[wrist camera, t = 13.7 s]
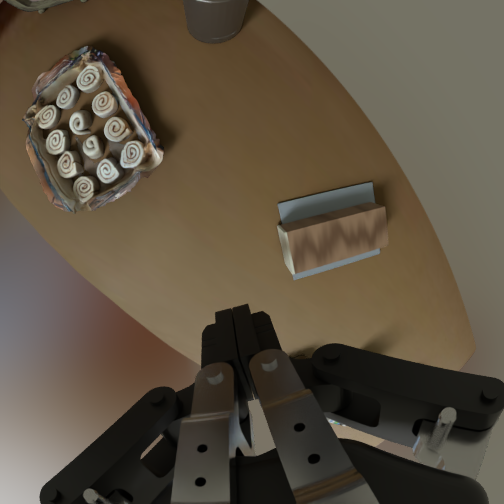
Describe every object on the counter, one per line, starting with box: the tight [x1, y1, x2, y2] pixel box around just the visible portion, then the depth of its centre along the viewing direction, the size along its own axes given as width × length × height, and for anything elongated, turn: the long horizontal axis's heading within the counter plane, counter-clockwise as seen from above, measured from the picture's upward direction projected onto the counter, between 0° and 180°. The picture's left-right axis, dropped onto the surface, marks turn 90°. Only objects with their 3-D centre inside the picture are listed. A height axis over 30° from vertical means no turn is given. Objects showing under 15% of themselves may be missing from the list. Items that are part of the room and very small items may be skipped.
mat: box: [278, 182, 380, 280], centre depth 49 cm, size 14×18×1 cm
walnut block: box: [277, 202, 388, 274], centre depth 47 cm, size 7×5×18 cm
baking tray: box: [22, 46, 164, 214], centre depth 36 cm, size 30×22×5 cm
